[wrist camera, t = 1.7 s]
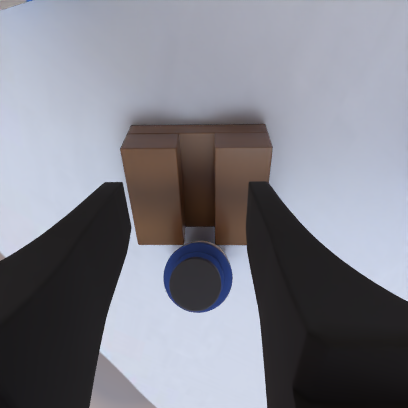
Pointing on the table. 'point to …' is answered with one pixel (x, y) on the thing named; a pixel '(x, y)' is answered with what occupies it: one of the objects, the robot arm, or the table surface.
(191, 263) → the bottle
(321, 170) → the table surface
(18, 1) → the ink box
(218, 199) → the block
